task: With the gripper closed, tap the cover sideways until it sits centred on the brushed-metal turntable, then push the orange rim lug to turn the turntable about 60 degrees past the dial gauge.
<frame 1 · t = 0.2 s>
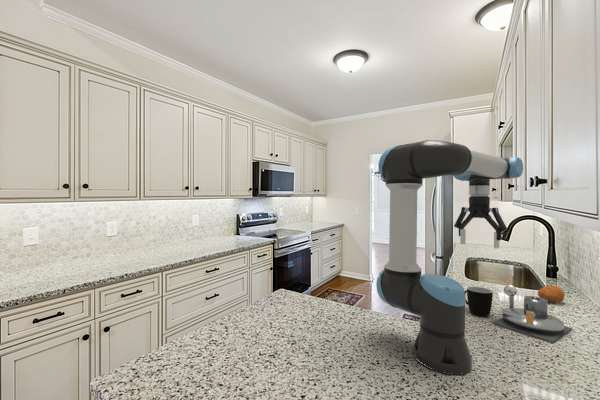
hand: (478, 246, 121), 28 cm above the countertop, fingers open, 13 cm apart
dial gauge: (511, 312, 120), on the countertop
mug: (475, 313, 120), on the countertop
turntable: (531, 313, 107), point 5 cm above the countertop, hinge at 0.0°, touching cover
turntable base: (531, 326, 106), on the countertop
cover: (535, 314, 109), point 4 cm above the countertop, touching turntable
potato: (551, 302, 135), on the countertop
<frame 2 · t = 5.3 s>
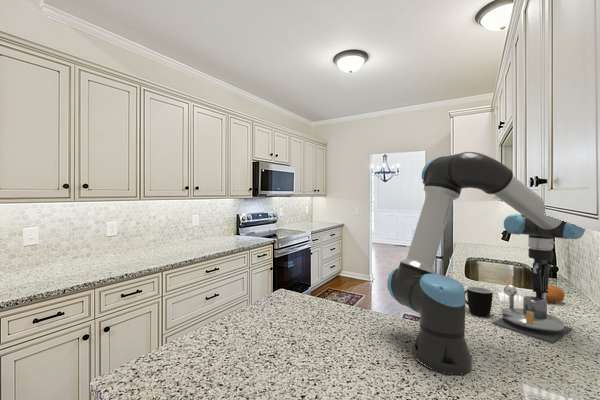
hand: (540, 309, 112), 5 cm above the countertop, fingers closed
turntable: (531, 313, 107), point 5 cm above the countertop, hinge at 0.0°
cover: (534, 314, 108), point 4 cm above the countertop, touching gripper
everything else where it was.
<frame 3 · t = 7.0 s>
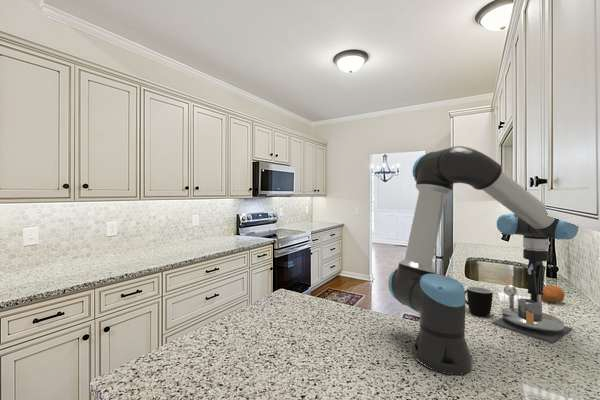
hand: (535, 311, 109), 5 cm above the countertop, fingers closed
turntable: (531, 313, 107), point 5 cm above the countertop, hinge at 0.0°, touching cover
cover: (529, 317, 106), point 4 cm above the countertop, touching gripper, turntable
everything else where it was.
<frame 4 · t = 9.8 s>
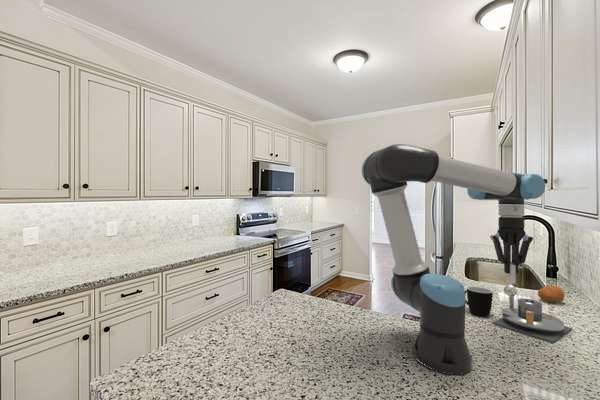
hand: (511, 282, 102), 18 cm above the countertop, fingers closed
cover: (529, 317, 106), point 4 cm above the countertop, touching turntable
everything else where it was.
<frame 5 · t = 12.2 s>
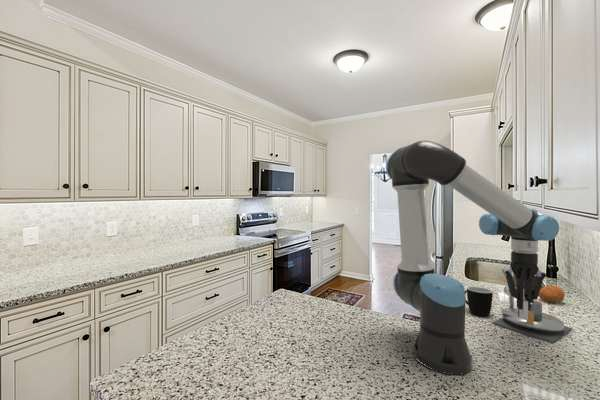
hand: (523, 318, 101), 5 cm above the countertop, fingers closed
turntable: (531, 313, 107), point 5 cm above the countertop, hinge at 0.4°, touching cover, gripper
everything else where it was.
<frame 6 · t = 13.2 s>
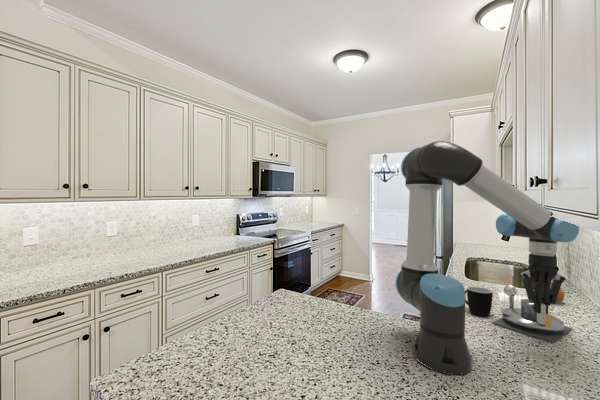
hand: (541, 322, 99), 5 cm above the countertop, fingers closed
turntable: (531, 313, 107), point 5 cm above the countertop, hinge at 33.2°, touching cover, gripper
everything else where it was.
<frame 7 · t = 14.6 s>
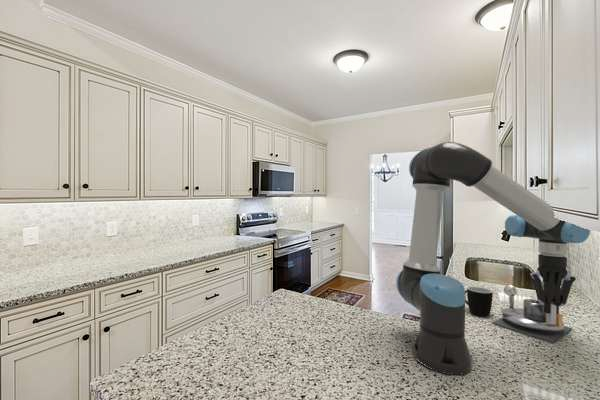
hand: (551, 322, 99), 5 cm above the countertop, fingers closed
turntable: (531, 313, 107), point 5 cm above the countertop, hinge at 62.9°, touching cover, gripper
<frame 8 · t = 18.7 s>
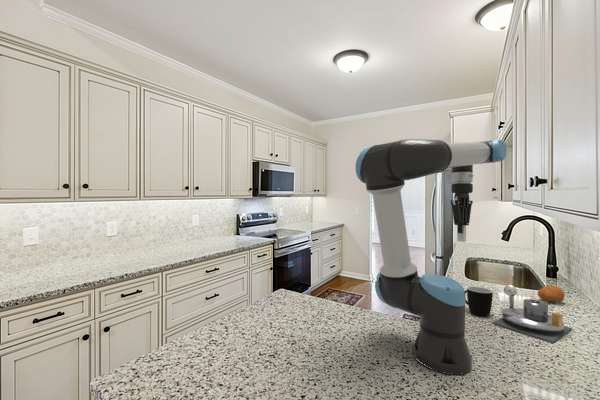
hand: (461, 241, 116), 30 cm above the countertop, fingers closed
turntable: (531, 313, 107), point 5 cm above the countertop, hinge at 63.0°, touching cover
at the end: turntable at +63° (first picture: +0°); cover 1.7 cm from the turntable (horizontally); cover tilted 0° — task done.
